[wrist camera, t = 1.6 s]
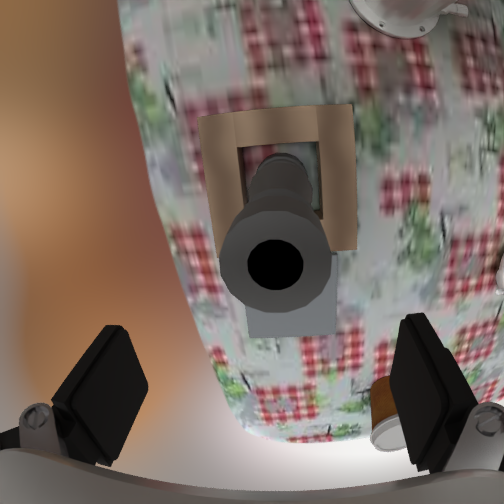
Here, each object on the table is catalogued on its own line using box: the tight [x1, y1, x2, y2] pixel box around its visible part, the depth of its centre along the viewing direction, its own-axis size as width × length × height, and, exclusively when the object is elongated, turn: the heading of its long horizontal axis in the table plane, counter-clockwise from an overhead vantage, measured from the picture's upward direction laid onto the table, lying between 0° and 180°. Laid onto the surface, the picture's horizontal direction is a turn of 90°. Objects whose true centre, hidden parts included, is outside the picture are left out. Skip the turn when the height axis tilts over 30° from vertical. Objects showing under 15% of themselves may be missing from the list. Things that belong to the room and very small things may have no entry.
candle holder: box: [219, 153, 332, 313], centre depth 27 cm, size 6×6×25 cm
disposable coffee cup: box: [370, 376, 407, 452], centre depth 46 cm, size 10×10×12 cm
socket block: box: [197, 104, 357, 258], centre depth 37 cm, size 17×17×4 cm
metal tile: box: [245, 253, 337, 338], centre depth 45 cm, size 13×13×1 cm
